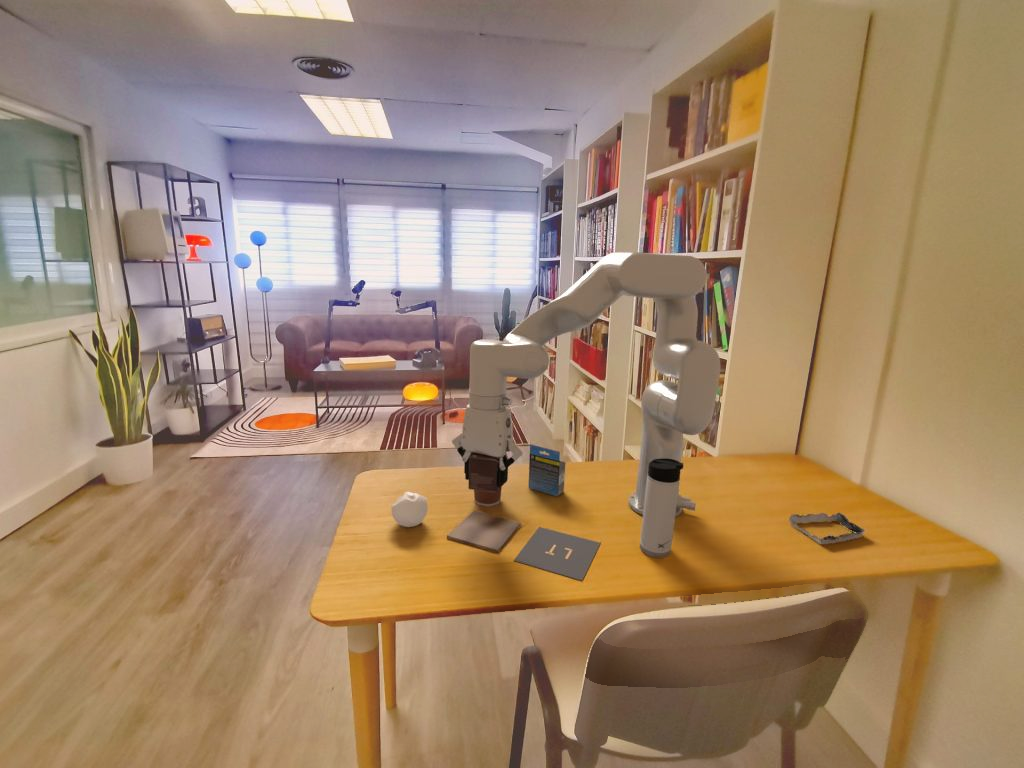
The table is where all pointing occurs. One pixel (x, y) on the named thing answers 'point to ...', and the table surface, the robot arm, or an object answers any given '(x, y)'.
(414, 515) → the white rounded piece
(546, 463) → the label tape cartridge
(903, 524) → the table surface
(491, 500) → the coffee cup
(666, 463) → the travel mug
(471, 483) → the box
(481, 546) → the walnut pad
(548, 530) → the mat
